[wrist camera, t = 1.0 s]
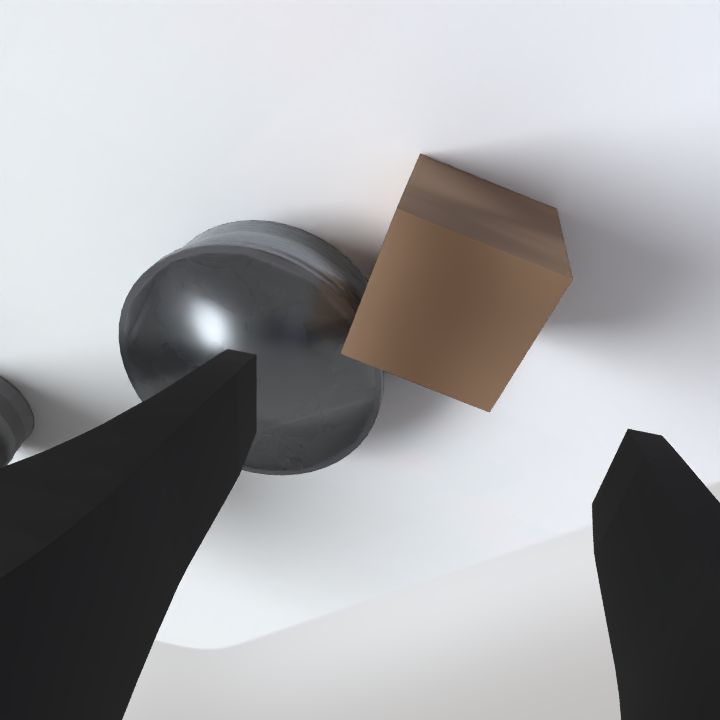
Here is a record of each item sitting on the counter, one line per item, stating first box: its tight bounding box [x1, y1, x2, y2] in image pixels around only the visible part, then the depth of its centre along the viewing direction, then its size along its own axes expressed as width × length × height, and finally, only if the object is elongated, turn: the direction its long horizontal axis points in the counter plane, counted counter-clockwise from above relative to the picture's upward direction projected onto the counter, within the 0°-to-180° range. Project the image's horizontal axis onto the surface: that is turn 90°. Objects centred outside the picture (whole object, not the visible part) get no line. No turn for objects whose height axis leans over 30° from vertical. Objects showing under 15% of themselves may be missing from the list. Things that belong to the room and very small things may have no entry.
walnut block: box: [341, 154, 573, 412], centre depth 17 cm, size 4×4×5 cm
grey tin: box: [119, 220, 384, 475], centre depth 22 cm, size 9×9×3 cm
